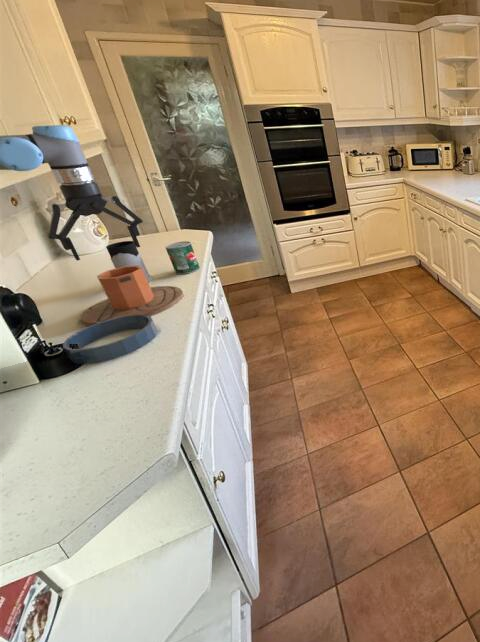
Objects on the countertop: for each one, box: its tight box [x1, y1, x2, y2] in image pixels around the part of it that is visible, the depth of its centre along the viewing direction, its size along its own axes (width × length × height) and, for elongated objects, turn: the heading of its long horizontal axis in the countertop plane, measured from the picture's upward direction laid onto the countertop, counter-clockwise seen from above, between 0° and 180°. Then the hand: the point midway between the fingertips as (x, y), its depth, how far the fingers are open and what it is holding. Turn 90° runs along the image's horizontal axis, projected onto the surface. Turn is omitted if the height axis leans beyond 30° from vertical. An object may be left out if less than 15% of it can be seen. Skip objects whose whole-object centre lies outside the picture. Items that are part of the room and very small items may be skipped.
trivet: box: [80, 285, 185, 328], centre depth 128 cm, size 25×25×2 cm
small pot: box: [96, 266, 154, 310], centre depth 125 cm, size 13×10×11 cm
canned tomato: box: [164, 240, 201, 275], centre depth 155 cm, size 8×8×11 cm
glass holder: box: [105, 240, 153, 283], centre depth 147 cm, size 9×14×15 cm, turn 30°
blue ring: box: [62, 315, 159, 365], centre depth 106 cm, size 17×17×6 cm
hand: (109, 252), depth 120 cm, fingers open, 13 cm apart
